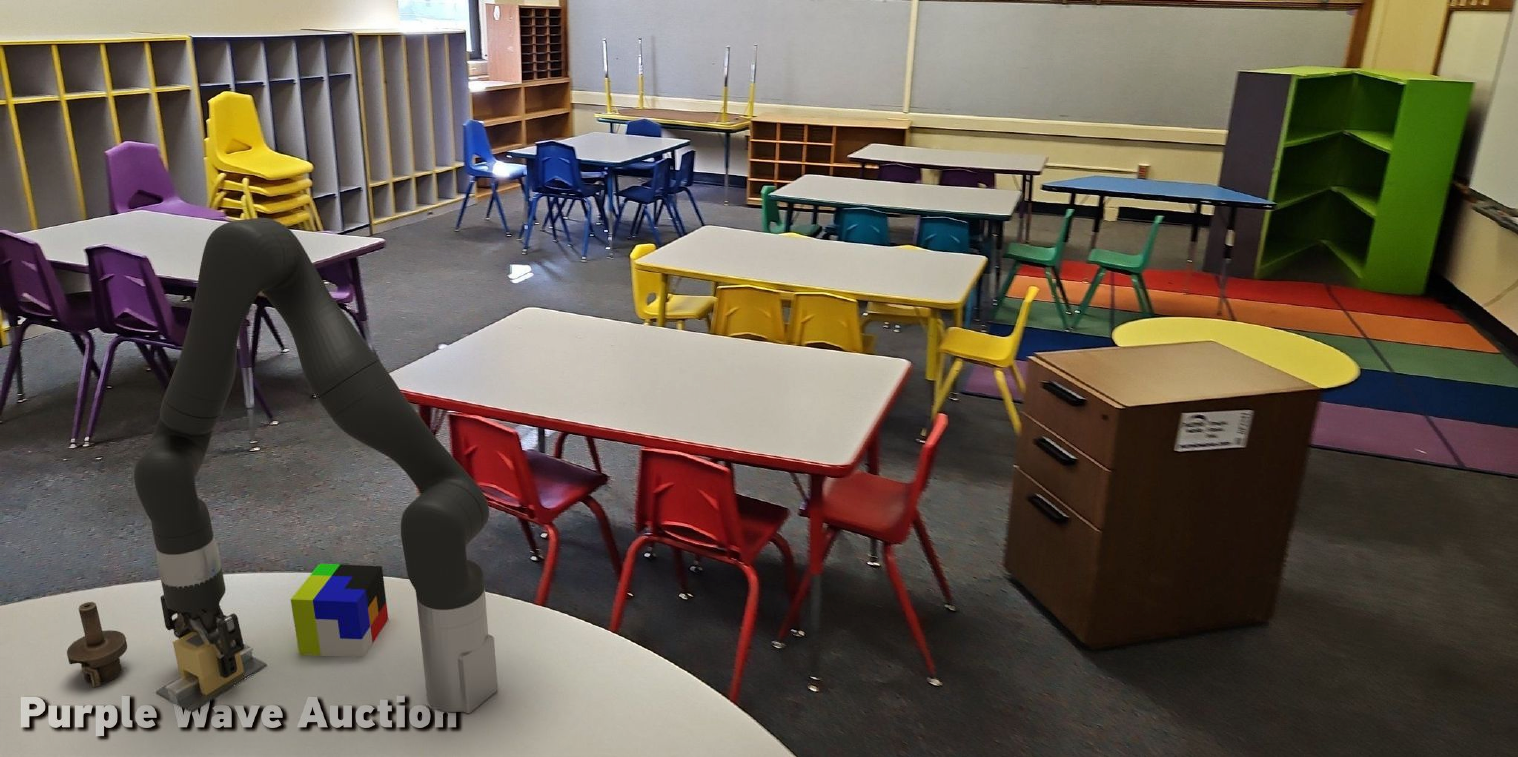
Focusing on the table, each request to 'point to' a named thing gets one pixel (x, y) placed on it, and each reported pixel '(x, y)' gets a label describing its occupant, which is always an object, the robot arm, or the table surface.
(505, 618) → the table surface
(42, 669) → the table surface
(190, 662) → the block
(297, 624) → the puzzle toy
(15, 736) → the table surface
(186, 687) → the rail
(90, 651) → the industrial component
